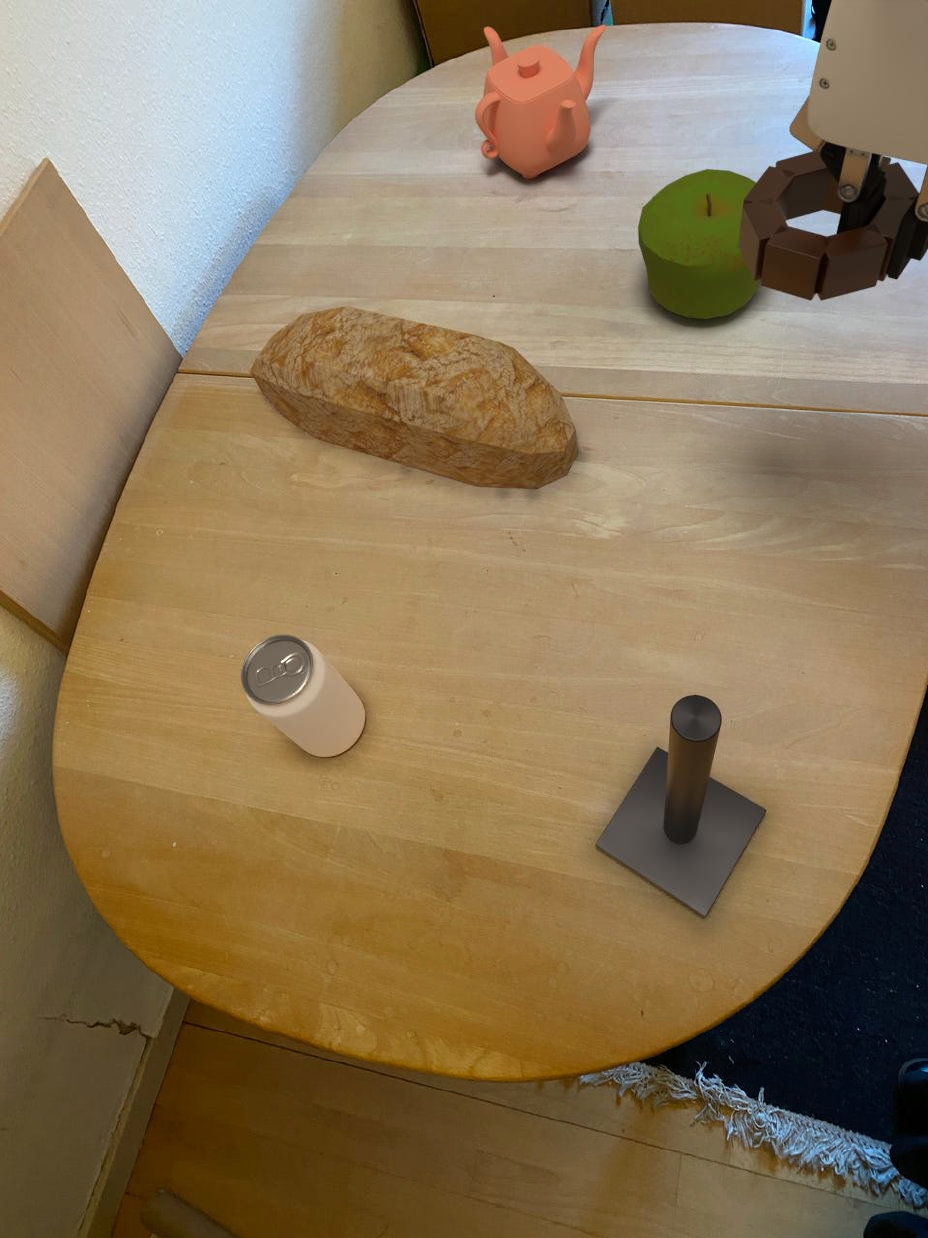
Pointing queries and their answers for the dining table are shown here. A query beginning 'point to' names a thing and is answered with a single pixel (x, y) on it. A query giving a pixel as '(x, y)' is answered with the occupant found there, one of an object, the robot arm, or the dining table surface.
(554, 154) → the teapot
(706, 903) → the dark grey peg stand
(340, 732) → the can
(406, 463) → the bread
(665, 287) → the apple
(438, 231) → the dining table surface
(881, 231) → the ring
